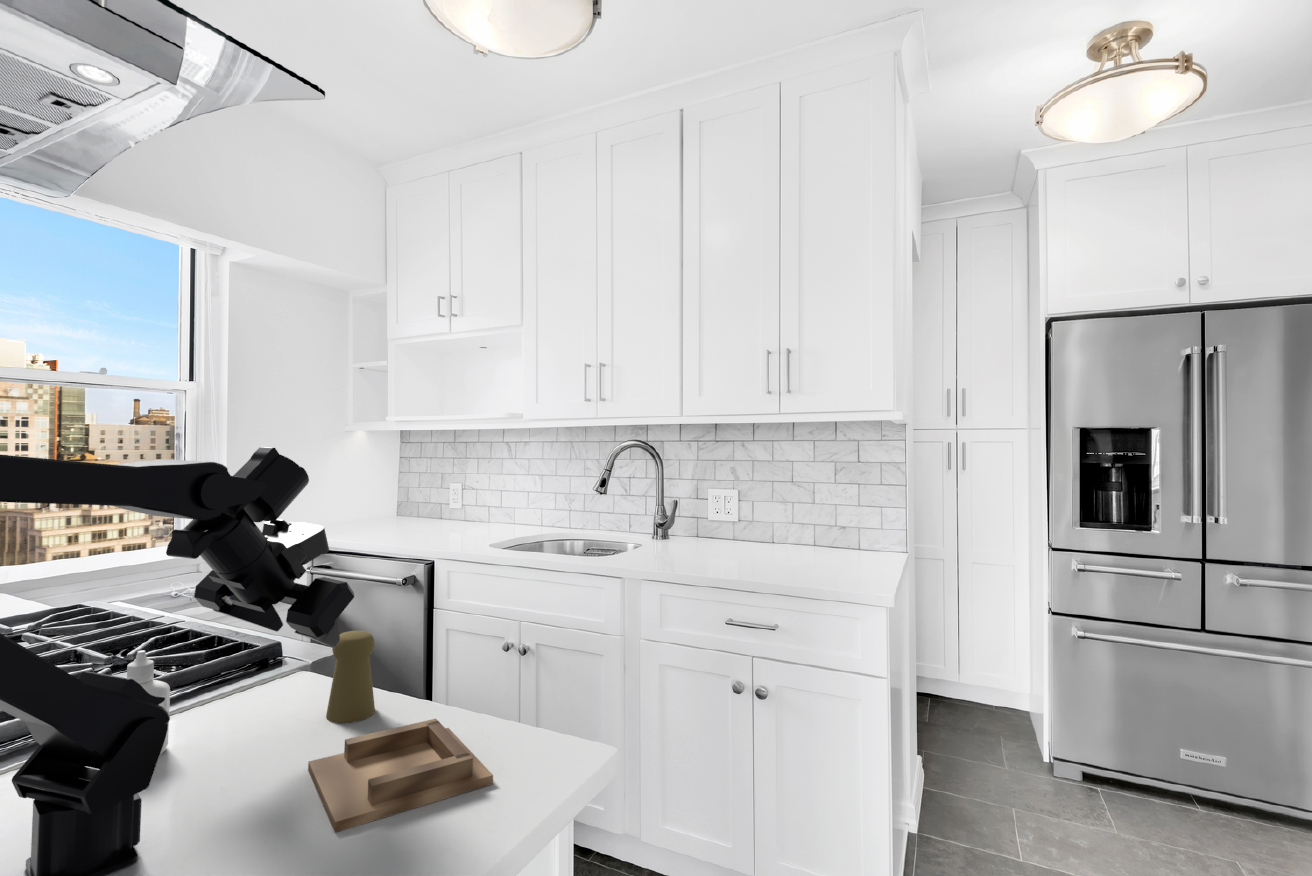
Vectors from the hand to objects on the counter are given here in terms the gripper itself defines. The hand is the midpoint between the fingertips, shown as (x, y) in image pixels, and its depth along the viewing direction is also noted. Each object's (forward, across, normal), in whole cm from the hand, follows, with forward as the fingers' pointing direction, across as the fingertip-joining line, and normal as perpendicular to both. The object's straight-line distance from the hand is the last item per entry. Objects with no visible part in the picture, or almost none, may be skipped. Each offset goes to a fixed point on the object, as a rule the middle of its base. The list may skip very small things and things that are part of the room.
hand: (307, 635), depth 80 cm
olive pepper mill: (+16, 0, +2) cm, 16 cm away
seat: (+7, -18, +9) cm, 21 cm away
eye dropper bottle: (+4, +13, +17) cm, 22 cm away
